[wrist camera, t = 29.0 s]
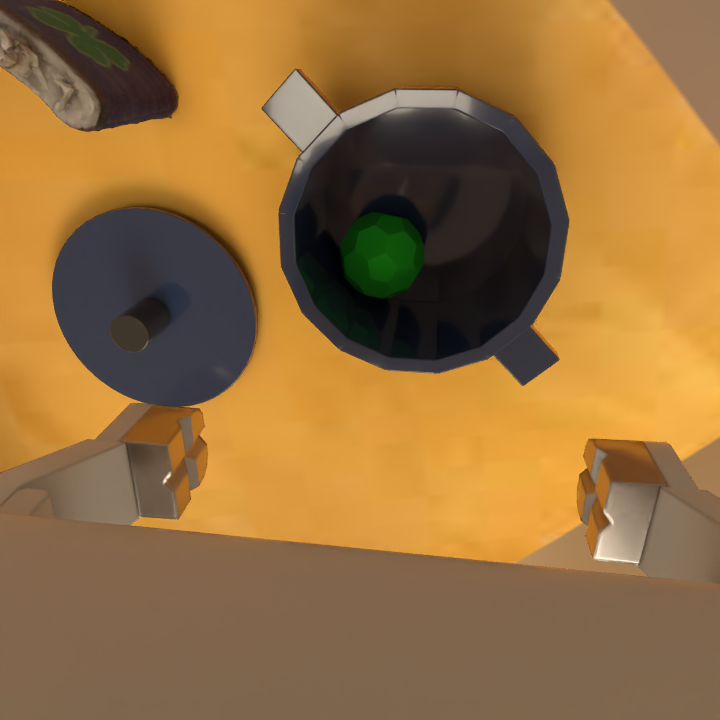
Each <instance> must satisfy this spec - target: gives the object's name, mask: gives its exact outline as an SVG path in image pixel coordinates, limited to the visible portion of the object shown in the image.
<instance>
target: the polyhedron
mask: <svg viewBox="0 0 720 720" xmlns="http://www.w3.org/2000/svg"><path fill="white" fill-rule="evenodd" d="M340 255H341V263H342V269H343V273H344V277H345V279H346V280H347V281H348V282H349V283H350V284H351V285H352V286H353V287H354V288H355V289H356V291H358V292H360V293H362V294H364V295H367V296H372V297H377V298H382V299H383V298H391V297H393V296H395V295H398V294H400V293H403V292H405V291H407V290H408V288H409V287H410V286H411V284H412V283H413V281H414V279H415V278H416V276H417V275H418V273H419V272H420V270H421V268H422V266H423V265H424V263H425V257H424V244H423V241H422V238H421V236H420V233H419V232H418V230H417V229H416V228H415V227H414V226H413V225H412V224H411V222H410V221H409V220H408V219H405V218H401V217H397V216H392V215H388V214H383V213H377V212H372V213H370V214H367V215H365V216H363V217H361V218H358V219H357V220H356V221H355V222H354V224H353V225H352V226H351V228H350V229H349V231H348V232H347V234H346V236H345V238H344V239H343V241H342V243H341V245H340Z"/></svg>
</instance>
